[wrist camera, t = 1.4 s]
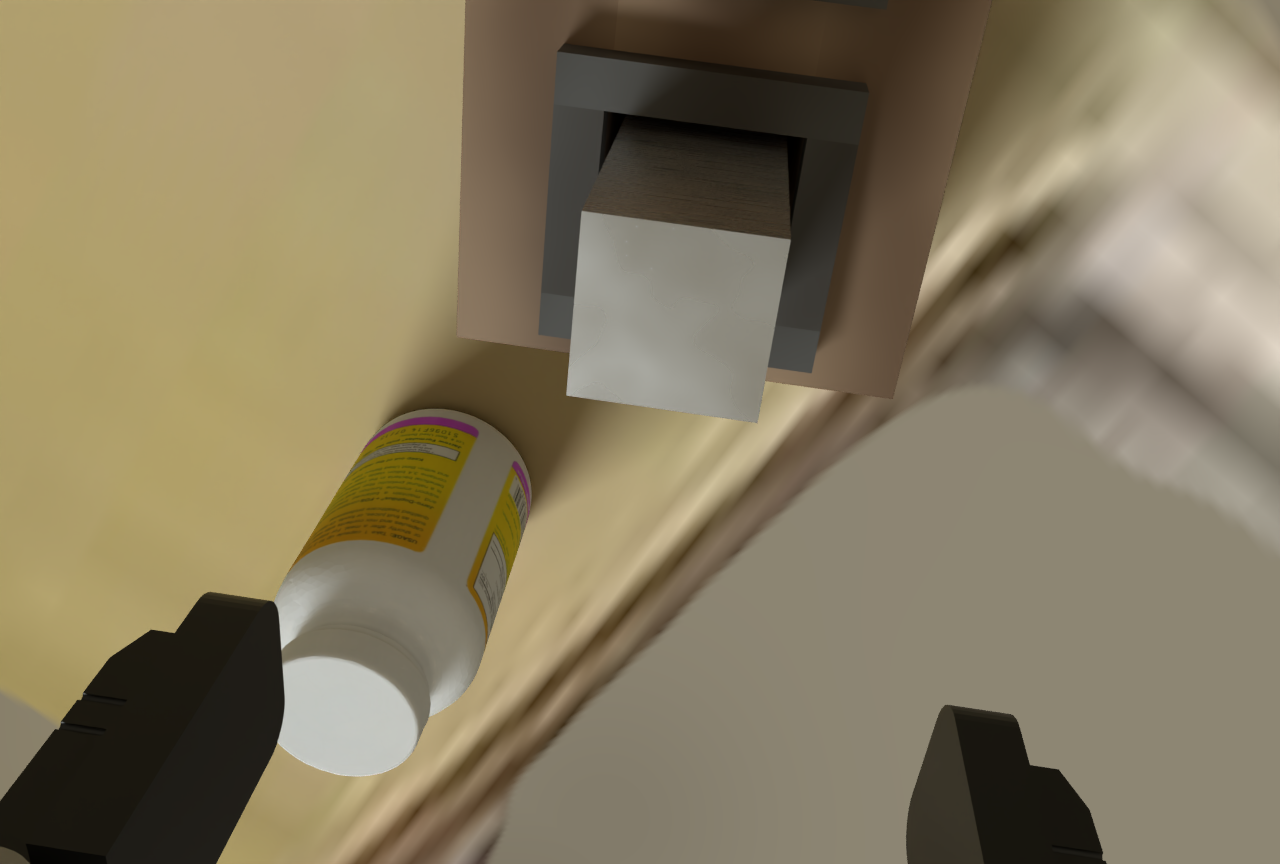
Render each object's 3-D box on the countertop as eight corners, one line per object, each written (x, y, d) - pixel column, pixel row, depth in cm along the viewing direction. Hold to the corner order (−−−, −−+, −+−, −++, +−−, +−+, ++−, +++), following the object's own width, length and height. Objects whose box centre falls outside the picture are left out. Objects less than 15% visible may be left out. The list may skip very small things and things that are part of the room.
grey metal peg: (613, 258, 30) (565, 395, 23) (628, 109, 28) (581, 210, 21) (761, 279, 30) (757, 422, 23) (786, 130, 28) (790, 239, 21)
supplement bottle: (329, 465, 43) (175, 698, 32) (446, 368, 40) (321, 584, 29) (454, 577, 45) (349, 832, 34) (572, 491, 42) (501, 737, 31)
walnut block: (514, 238, 38) (447, 352, 30) (549, -428, 29) (466, -512, 21) (870, 287, 37) (896, 416, 29) (1019, -373, 28) (1113, -439, 20)
